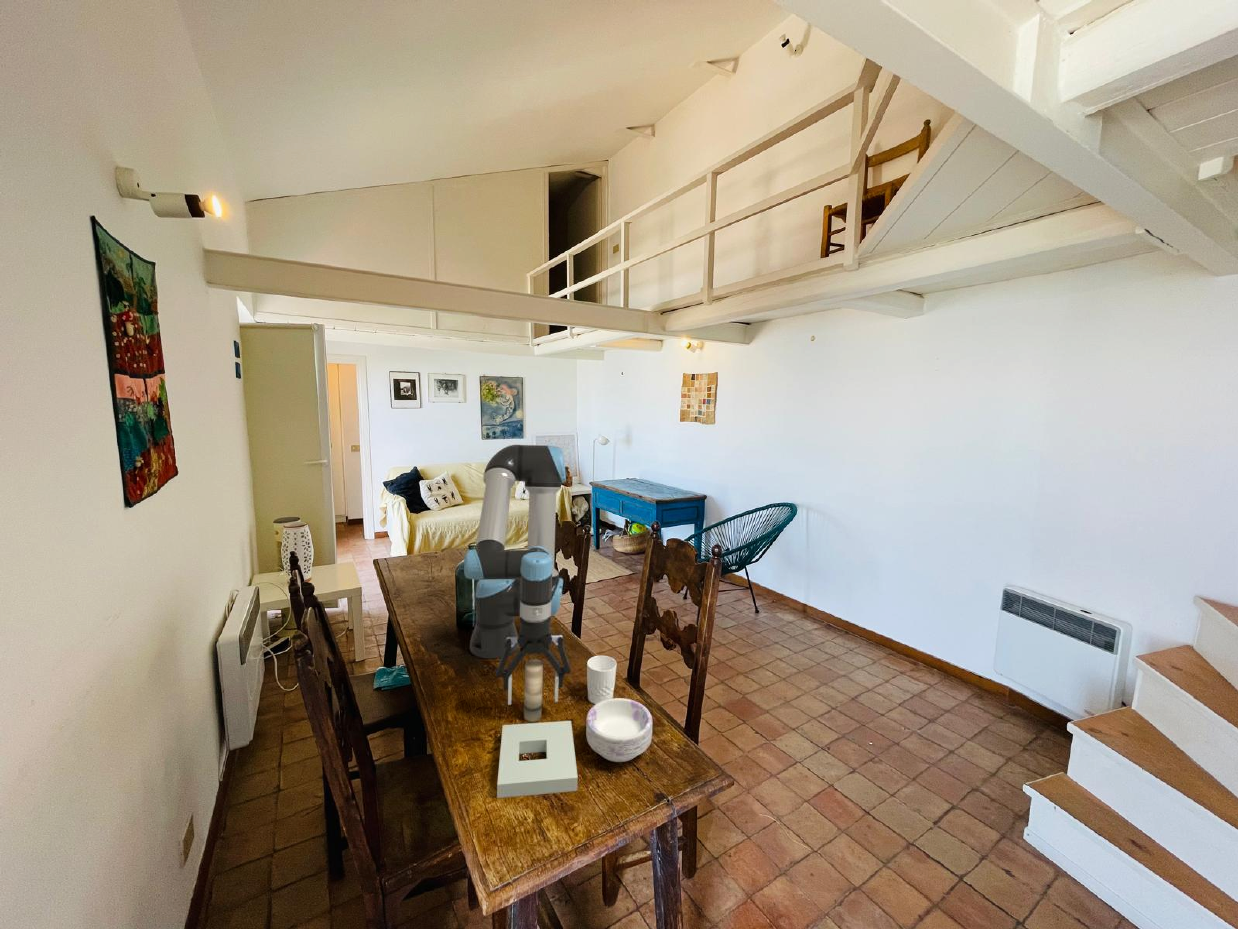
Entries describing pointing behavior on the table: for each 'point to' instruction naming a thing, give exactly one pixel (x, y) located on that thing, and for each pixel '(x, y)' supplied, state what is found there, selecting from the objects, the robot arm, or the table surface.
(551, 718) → the table surface
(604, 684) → the white cup
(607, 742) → the paper bowls
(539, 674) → the maple dowel
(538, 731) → the socket board
